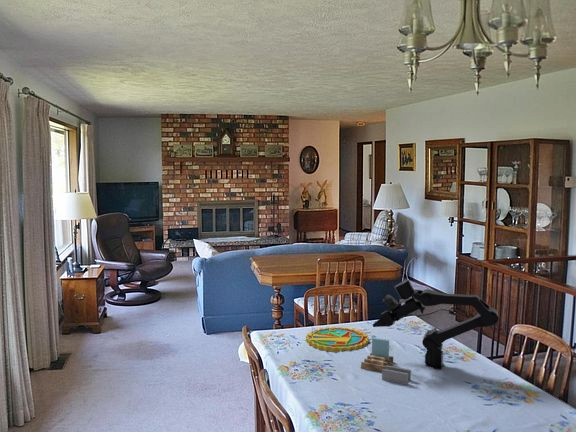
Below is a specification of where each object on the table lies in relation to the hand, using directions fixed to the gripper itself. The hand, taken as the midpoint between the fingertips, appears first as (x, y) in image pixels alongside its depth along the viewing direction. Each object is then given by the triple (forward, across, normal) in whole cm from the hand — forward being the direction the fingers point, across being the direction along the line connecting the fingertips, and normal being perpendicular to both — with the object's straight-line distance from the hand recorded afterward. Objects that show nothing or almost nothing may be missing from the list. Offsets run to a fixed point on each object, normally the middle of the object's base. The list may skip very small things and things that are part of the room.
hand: (375, 324), depth 220 cm
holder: (-2, +18, +22) cm, 28 cm away
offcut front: (+6, +7, +15) cm, 17 cm away
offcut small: (+5, +11, +16) cm, 20 cm away
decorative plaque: (+27, -16, 0) cm, 31 cm away
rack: (+6, +6, +15) cm, 18 cm away
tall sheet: (+5, +3, +15) cm, 16 cm away
